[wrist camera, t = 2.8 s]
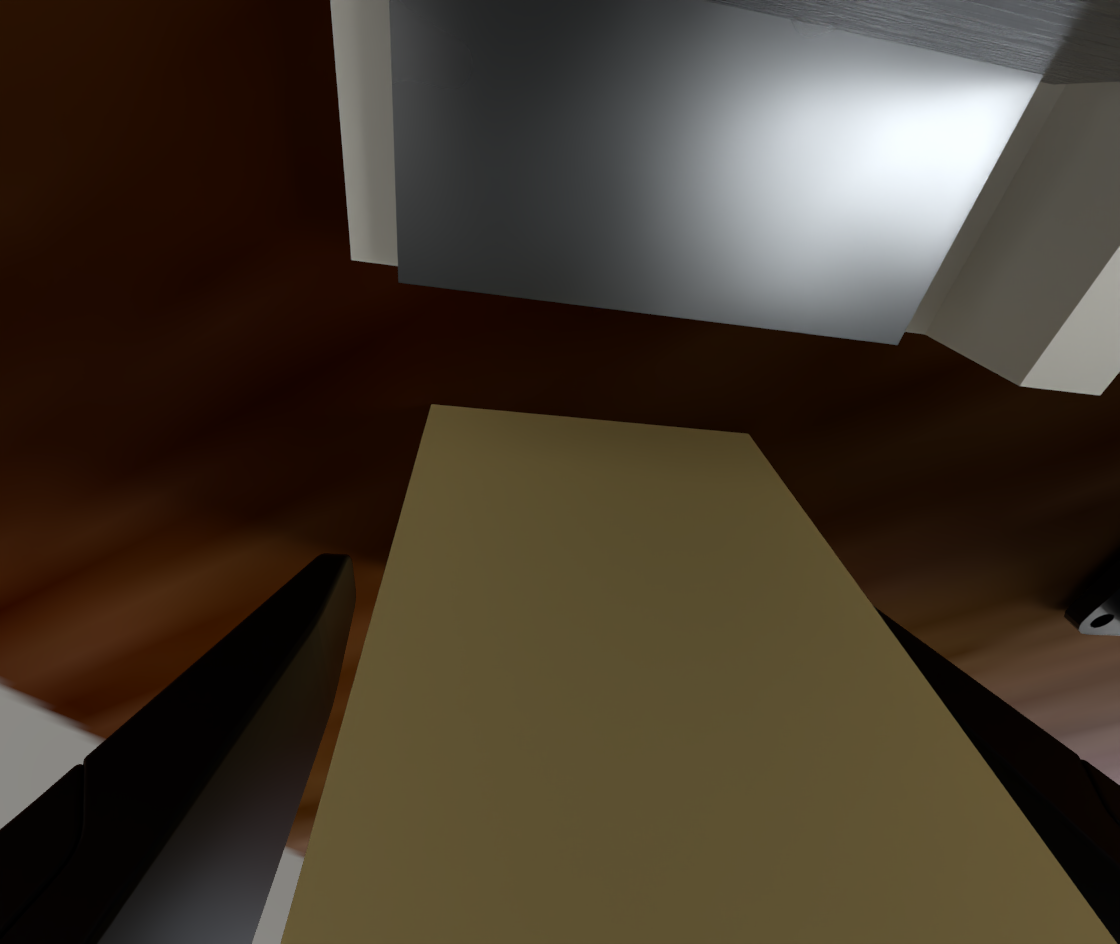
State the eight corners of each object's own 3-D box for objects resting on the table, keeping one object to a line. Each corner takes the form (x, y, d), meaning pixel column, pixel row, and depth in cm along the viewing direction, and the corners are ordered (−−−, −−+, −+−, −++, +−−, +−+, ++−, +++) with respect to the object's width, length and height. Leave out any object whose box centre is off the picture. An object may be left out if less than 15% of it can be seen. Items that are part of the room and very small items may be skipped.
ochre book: (684, 587, 11) (857, 1069, 6) (430, 575, 11) (333, 1122, 5) (747, 433, 9) (1139, 976, 3) (431, 403, 8) (250, 1046, 3)
